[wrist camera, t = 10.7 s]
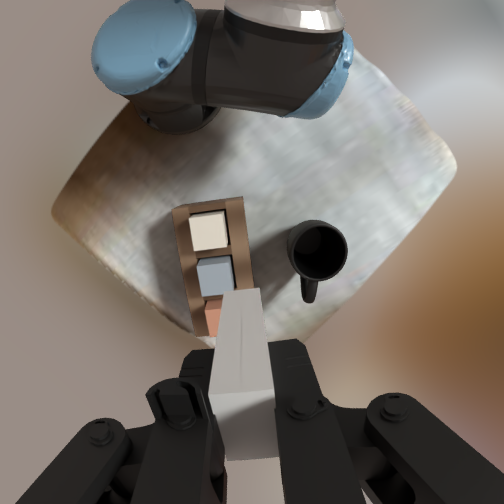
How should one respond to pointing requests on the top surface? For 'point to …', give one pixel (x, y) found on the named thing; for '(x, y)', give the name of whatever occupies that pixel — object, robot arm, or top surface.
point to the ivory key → (209, 229)
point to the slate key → (216, 275)
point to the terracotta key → (213, 315)
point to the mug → (316, 254)
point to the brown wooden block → (212, 253)
